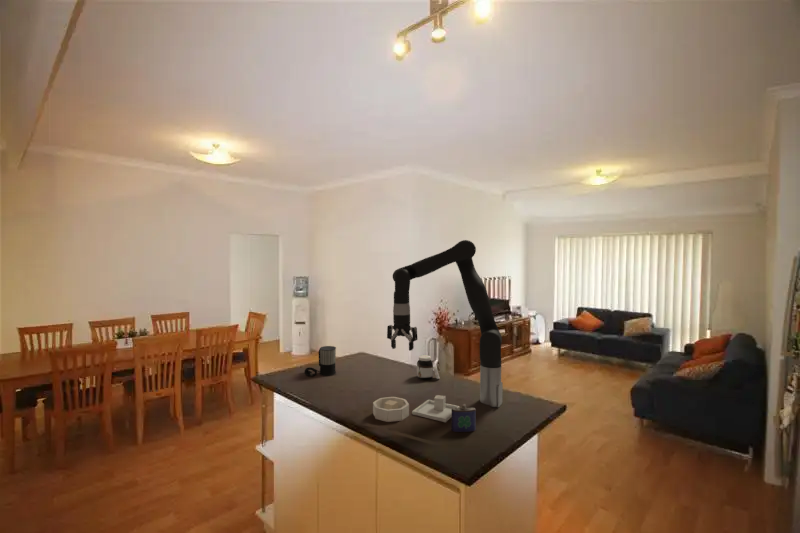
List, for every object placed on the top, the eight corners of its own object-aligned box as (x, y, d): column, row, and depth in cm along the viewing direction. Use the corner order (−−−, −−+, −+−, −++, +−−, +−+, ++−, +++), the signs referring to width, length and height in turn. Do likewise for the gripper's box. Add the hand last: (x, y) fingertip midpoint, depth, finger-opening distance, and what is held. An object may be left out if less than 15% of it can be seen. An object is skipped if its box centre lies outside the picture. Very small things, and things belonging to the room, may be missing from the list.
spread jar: (414, 376, 207) (414, 355, 207) (433, 373, 211) (433, 353, 211) (423, 382, 196) (423, 360, 196) (442, 380, 200) (443, 358, 200)
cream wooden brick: (397, 413, 154) (397, 401, 154) (392, 417, 151) (392, 405, 151) (389, 411, 156) (389, 400, 156) (384, 415, 153) (384, 403, 153)
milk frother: (339, 373, 212) (339, 347, 212) (319, 380, 199) (319, 352, 199) (321, 369, 220) (321, 344, 220) (301, 375, 207) (300, 349, 207)
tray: (459, 411, 159) (459, 406, 159) (445, 424, 146) (445, 419, 146) (428, 404, 167) (428, 399, 167) (412, 416, 154) (412, 411, 154)
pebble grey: (445, 407, 160) (445, 396, 160) (443, 411, 157) (443, 399, 157) (436, 406, 162) (436, 394, 162) (434, 409, 158) (434, 398, 158)
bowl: (413, 413, 156) (414, 401, 156) (396, 426, 144) (396, 412, 144) (385, 407, 163) (386, 394, 163) (367, 418, 151) (367, 405, 151)
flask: (474, 430, 141) (474, 402, 141) (476, 434, 138) (477, 405, 138) (450, 431, 141) (450, 403, 140) (452, 435, 138) (452, 406, 137)
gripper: (419, 313, 166) (420, 349, 167) (392, 311, 173) (392, 346, 173) (412, 315, 160) (412, 352, 160) (383, 313, 167) (384, 349, 167)
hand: (402, 349), depth 167 cm, fingers open, 8 cm apart
